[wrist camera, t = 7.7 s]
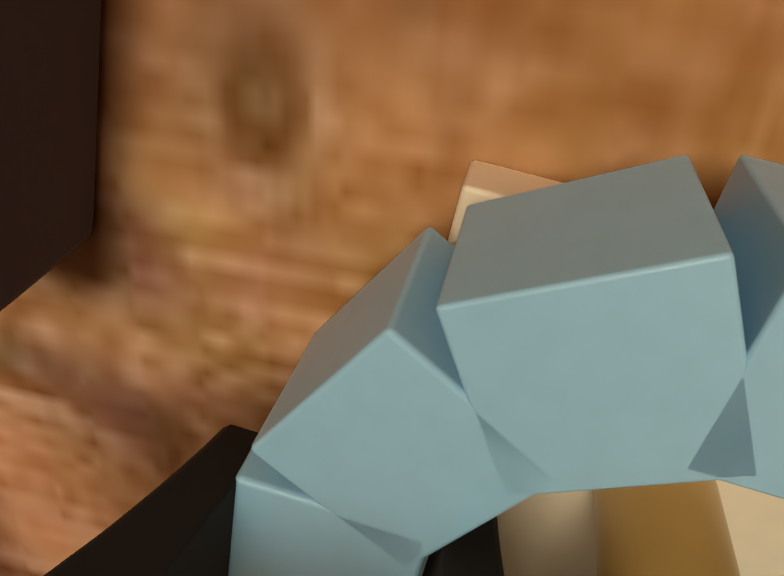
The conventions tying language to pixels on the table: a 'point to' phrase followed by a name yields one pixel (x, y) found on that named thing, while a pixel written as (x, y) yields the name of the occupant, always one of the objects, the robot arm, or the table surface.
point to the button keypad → (46, 135)
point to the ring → (529, 371)
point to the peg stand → (629, 496)
